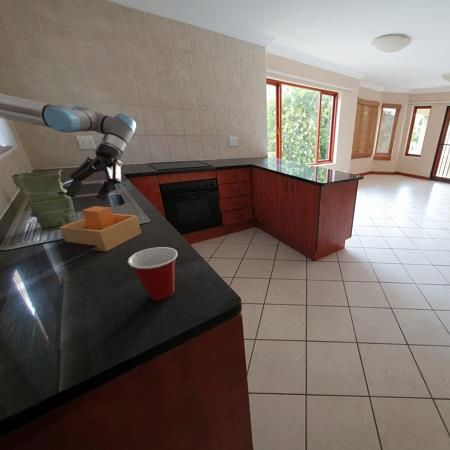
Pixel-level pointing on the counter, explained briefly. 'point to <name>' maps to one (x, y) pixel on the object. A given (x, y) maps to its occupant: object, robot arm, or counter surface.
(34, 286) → the counter surface
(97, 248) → the open box
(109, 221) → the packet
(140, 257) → the plastic cup
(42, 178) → the pouch
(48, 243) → the counter surface
